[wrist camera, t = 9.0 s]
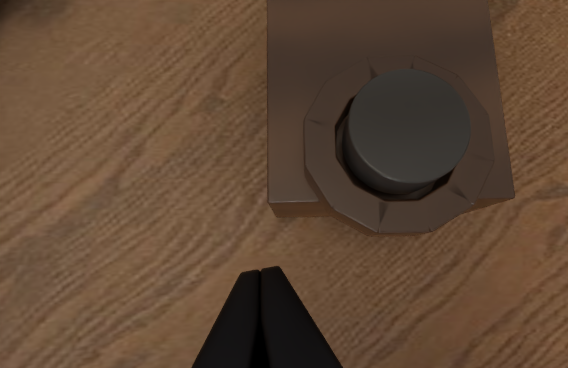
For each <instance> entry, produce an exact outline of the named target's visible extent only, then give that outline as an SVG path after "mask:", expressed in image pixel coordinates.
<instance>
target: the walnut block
mask: <svg viewBox="0 0 568 368" xmlns="http://www.w3.org/2000/svg"><path fill="white" fill-rule="evenodd" d="M398 69H416V70H422V71H425V72H429V73H431V74H434V75H436V76H438V77H440V78H442V79H443V80H444V81H446V82H447V83H449V84H450V85H451V86H452V87H453V88H454V89H455V90H456V91H457V92H458V93H459V95H460V96H461V98H462V99H463V101H464V103H465V105H466V107H467V109H468V112H469V116H470V121H471V137H470V142H469V145H468V148H467V150H466V153H465V154H464V156H463V158H462V159H461V161H460V162H459V163H458V164H457V166H455V167H454V168H453V169H452V170H451V171H450V172H448V173H447V174H446V175H444V176H442V177H441V178H439V179H437V180H436V181H434V182H433V183H431V184H429V185H428V186H426V187H424V188H422V189H420V190H418V191H415V192H412V193H407V194H389V193H384V192H381V191H377V190H375V189H373V188H371V187H369V186H367V185H366V184H364V183H363V182H362V181H361V180H359V179H358V178H357V177H356V176H355V175H354V173H353V172H352V171H351V169H350V168H349V166H348V164H347V162H346V160H345V157H344V153H343V148H342V135H343V130H344V127H345V123H346V120H347V117H348V114H349V110H350V107H351V104H352V102H353V100H354V98H355V96H356V95H357V93H358V92H359V91H360V89H361V88H362V87H363V86H364V85H365V84H366V83H368V82H369V81H370V80H372V79H373V78H375V77H377V76H379V75H381V74H383V73H386V72H389V71H393V70H398ZM267 187H268V203H269V205H270V207H271V208H272V210H273V212H274V214H275V215H276V217H328V216H332V217H334V218H336V219H338V220H339V221H341V222H343V223H345V224H347V225H349V226H350V227H352V228H354V229H356V230H358V231H360V232H362V233H363V234H365V235H367V236H371V237H385V236H417V235H421V234H425V233H429V232H433V231H434V230H436V229H438V228H439V227H441V226H442V225H444V224H446V223H447V222H449V221H451V220H452V219H454V218H455V217H457V216H459V215H460V214H463V213H467V212H470V211H473V210H477V209H480V208H483V207H487V206H490V205H493V204H497V203H500V202H503V201H507V200H510V199H513V198H515V192H514V185H513V178H512V171H511V164H510V157H509V150H508V143H507V136H506V128H505V121H504V114H503V107H502V100H501V93H500V86H499V79H498V72H497V65H496V58H495V51H494V43H493V36H492V29H491V22H490V15H489V8H488V1H487V0H267Z"/></svg>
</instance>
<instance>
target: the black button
mask: <svg viewBox="0 0 568 368" xmlns="http://www.w3.org/2000/svg"><path fill="white" fill-rule="evenodd" d="M470 137H471V121H470V116H469V112H468V109H467V107H466V105H465V103H464V101H463V99H462V98H461V96H460V95H459V93H458V92H457V91H456V90H455V89H454V88H453V87H452V86H451V85H450V84H449V83H447V82H446V81H444V80H443V79H442V78H440V77H438V76H436V75H434V74H431V73H429V72H425V71H422V70H416V69H398V70H393V71H389V72H386V73H383V74H381V75H379V76H377V77H375V78H373V79H372V80H370V81H369V82H368V83H366V84H365V85H364V86H363V87H362V88H361V89H360V91H359V92H358V93H357V95H356V96H355V98H354V100H353V102H352V104H351V107H350V110H349V114H348V117H347V120H346V123H345V127H344V130H343V135H342V148H343V153H344V157H345V160H346V162H347V164H348V166H349V168H350V169H351V171H352V172H353V173H354V175H355V176H356V177H357V178H358V179H359V180H361V181H362V182H363V183H364V184H366V185H367V186H369V187H371V188H373V189H375V190H377V191H381V192H384V193H389V194H407V193H412V192H415V191H418V190H420V189H422V188H424V187H426V186H428V185H429V184H431V183H433V182H434V181H436V180H437V179H439V178H441V177H442V176H444V175H446V174H447V173H448V172H450V171H451V170H452V169H453V168H454V167H455V166H457V164H458V163H459V162H460V161H461V159H462V158H463V156H464V154H465V153H466V150H467V148H468V145H469V142H470Z"/></svg>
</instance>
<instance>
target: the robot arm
mask: <svg viewBox="0 0 568 368" xmlns="http://www.w3.org/2000/svg"><path fill="white" fill-rule="evenodd" d="M191 368H343V367H342V365H341V364H340V362H339V360H338V359H337V357H336V356H335V354H334V352H333V351H332V349H331V348H330V346H329V344H328V343H327V341H326V340H325V338H324V336H323V335H322V333H321V332H320V330H319V328H318V327H317V325H316V324H315V322H314V321H313V319H312V317H311V316H310V314H309V313H308V311H307V309H306V308H305V306H304V305H303V303H302V301H301V300H300V298H299V297H298V295H297V293H296V292H295V290H294V289H293V287H292V285H291V284H290V282H289V281H288V279H287V277H286V276H285V274H284V273H283V271H282V269H281V268H280V267H279V266H274V267H269V268H263V269H262V270H261V272H260V271H259V270H252V271H246V272H242V273H241V274H240V275H239V277H238V279H237V281H236V283H235V284H234V286H233V288H232V290H231V292H230V294H229V296H228V298H227V300H226V302H225V304H224V306H223V308H222V310H221V311H220V313H219V315H218V317H217V319H216V321H215V323H214V325H213V327H212V329H211V331H210V333H209V335H208V337H207V338H206V340H205V342H204V344H203V346H202V348H201V350H200V352H199V354H198V356H197V358H196V360H195V362H194V364H193V366H192V367H191Z"/></svg>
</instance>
